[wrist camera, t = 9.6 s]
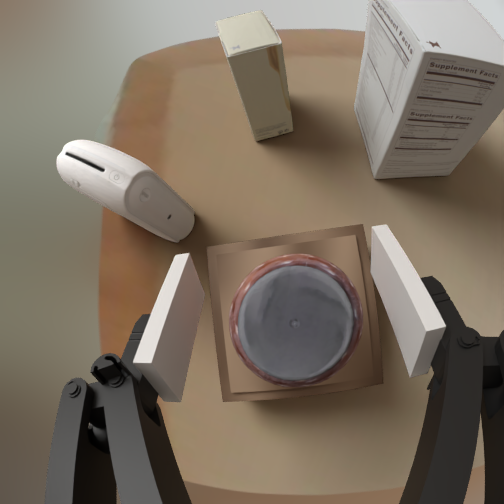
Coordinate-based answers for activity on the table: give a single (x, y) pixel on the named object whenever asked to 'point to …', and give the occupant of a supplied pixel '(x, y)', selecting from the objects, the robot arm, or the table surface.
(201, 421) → the table surface
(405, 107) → the supplement box
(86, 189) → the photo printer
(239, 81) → the skincare box
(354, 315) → the supplement bottle
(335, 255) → the wooden box
